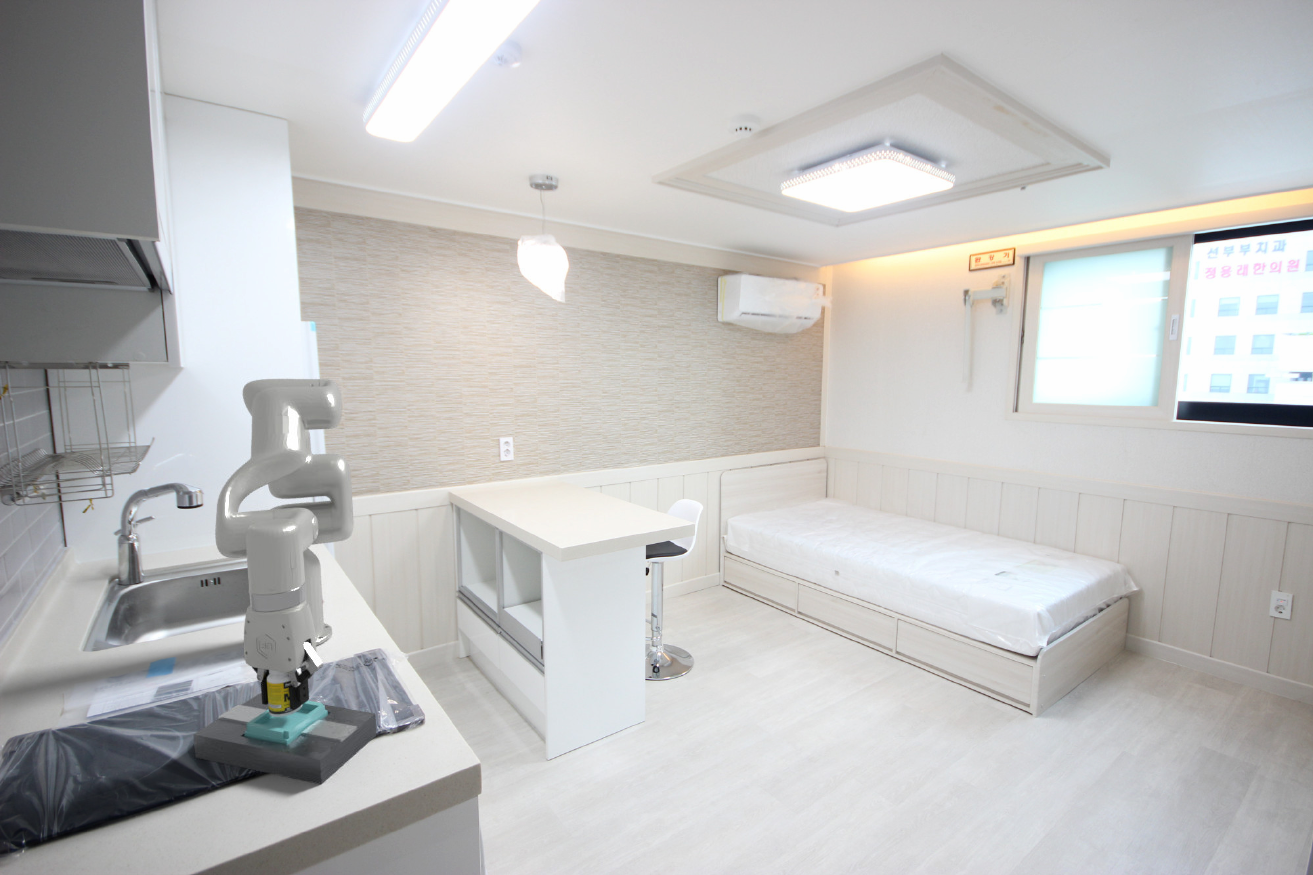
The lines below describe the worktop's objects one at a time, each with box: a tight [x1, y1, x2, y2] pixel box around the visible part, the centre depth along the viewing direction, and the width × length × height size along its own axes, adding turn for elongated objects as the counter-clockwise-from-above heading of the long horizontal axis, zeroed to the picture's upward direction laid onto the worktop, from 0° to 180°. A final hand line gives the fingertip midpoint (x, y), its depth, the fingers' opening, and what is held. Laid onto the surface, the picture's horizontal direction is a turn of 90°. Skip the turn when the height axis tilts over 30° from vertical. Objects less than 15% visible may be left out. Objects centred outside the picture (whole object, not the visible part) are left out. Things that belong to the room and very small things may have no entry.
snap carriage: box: [244, 700, 328, 745], centre depth 96 cm, size 8×8×3 cm
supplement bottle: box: [267, 668, 302, 717], centre depth 95 cm, size 5×5×8 cm
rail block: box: [193, 693, 377, 785], centre depth 96 cm, size 24×12×4 cm, turn 77°
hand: (285, 701), depth 95 cm, fingers closed on supplement bottle, 4 cm apart
